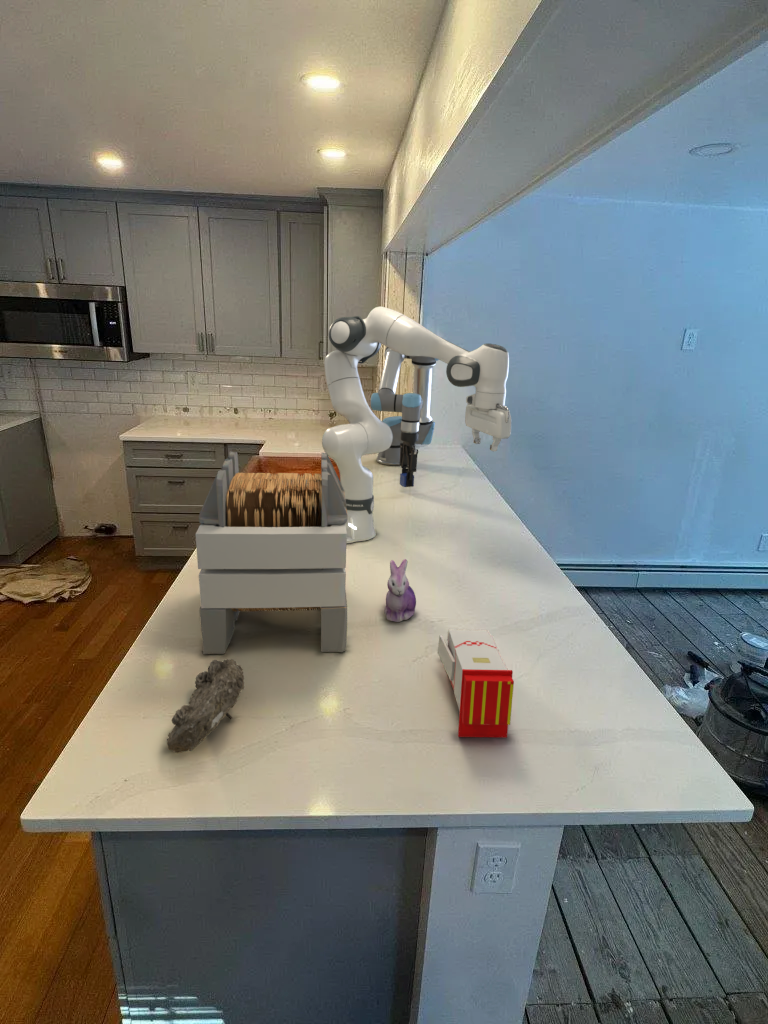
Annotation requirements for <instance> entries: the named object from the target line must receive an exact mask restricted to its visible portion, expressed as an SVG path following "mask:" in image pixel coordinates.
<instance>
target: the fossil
mask: <svg viewBox="0 0 768 1024" xmlns="http://www.w3.org/2000/svg"><path fill="white" fill-rule="evenodd" d="M243 670H244V669H243V667H242V665H240V664H237V662H236V661H235V660H234V659H232V658H231V659H227V658H226V659H224V660H223V661H222V660H217V659H212V660H211V661H210V663H209V665H208V666H207V671H201V672H199V673H198V674H197V675H196V676H195V680H194V684H195V685H194V687H195V689H194V690H193V693H192V694H191V697H190V698H189V700H188V704H184V705H182V706H181V707H180V709H177V710H176V711H175V713H174V715H173V716H172V718H171V723H172V724H173V727H172V730H171V731H170V732H168V734H167V738H166V741H167V742H166V745H167V749H168V750H169V751H173V752H174V753H176V754H178V753H182V752H188V751H189V752H192V751H193V750H195V748H196V747H197V746H199V744H200V743H201V742H203V741H204V740H205V739H206V738H207V737H208V736H209V735H210V734H211V733H212V732H214V730H215V729H217V727H218V726H219V724H220V722H221V721H222V720H223V719H224V718H225V716H226V717H227V719H229V720H233V717H232V715H230V714H229V710H230V709H231V708H234V706H235V704H236V703H237V702H238V699H239V697H240V695H241V693H242V691H243V690H245V689H244V688H245V675H244V671H243Z"/></svg>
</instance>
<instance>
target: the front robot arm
mask: <svg viewBox="0 0 768 1024" xmlns="http://www.w3.org/2000/svg"><path fill="white" fill-rule="evenodd" d="M328 340H329V342H330V344H331V345H332V347H334V348H335V350H332V351H330V352H329V353H327V354H326V356H325V357H324V361H323V362H324V363H323V364H324V366H323V367H324V376H325V381H326V382H325V383H326V387H327V390H328V394H329V398H330V402H331V406H332V408H333V410H334V411H335V413H337V415H341V417H344V418H345V419H346V420H347V421H348V423H344V424H343V423H342V424H337V425H335V426H332V427H329V428H327V429H325V431H324V432H323V435H322V437H321V447H322V450H323V452H324V453H327V454H328V457H329V459H332V461H333V462H334V463H335V465H336V466H337V470H338V472H339V480H340V482H341V484H342V487H343V489H344V491H345V499H346V506H347V514H348V519H347V523H345V524H346V532H347V541H346V544H352V543H357V542H365V541H368V540H372V539H373V538H375V537H376V535H377V532H376V528H375V523H374V513H373V512H374V509H375V496H374V474H373V472H372V471H371V469H369V468H368V467H366V466H364V465H363V463H362V457H364V456H370V455H371V456H372V455H378V453H380V452H383V451H385V450H387V449H388V448H389V447H390V446H391V444H392V439H393V435H392V431H391V429H390V427H389V426H388V425H387V424H386V423H384V422H382V421H383V420H381V419H380V418H379V417H377V415H376V414H375V412H373V410H372V408H371V406H369V403H368V401H367V399H366V395H365V393H364V389H363V386H362V381H361V377H360V374H359V370H358V364H362V365H363V364H364V363H366V361H368V360H369V359H371V358H373V357H375V356H376V355H377V354H378V353H379V351H380V349H381V348H382V345H383V346H385V348H386V347H388V348H390V349H391V350H393V351H395V352H398V353H400V354H403V355H407V356H426V357H433V358H436V359H439V360H438V361H441V362H443V363H445V364H446V369H445V373H446V378H447V380H448V382H449V383H450V384H451V385H453V386H455V387H458V388H468V387H474V388H475V393H473V394H470V395H467V396H466V398H465V403H466V406H465V414H464V422H465V426H466V427H468V428H469V429H471V434H472V437H473V440H472V443H473V444H475V445H480V444H481V443H482V442H481V441H482V438H481V437H480V436H481V435H480V432H481V433H483V434H485V435H487V436H488V435H489V436H491V437H492V443H491V444H489V451H491V452H497V451H498V448H499V444H500V443H501V442H502V440H504V439H509V438H510V436H511V434H512V416H511V412H510V410H509V407H508V406H506V396H507V388H506V386H507V385H506V384H507V380H508V378H509V368H510V355H509V354H510V353H509V351H508V349H507V348H506V347H504V346H502V345H500V344H495V343H483V344H482V345H481V346H479V347H477V348H475V349H473V350H467V349H465V348H463V347H461V346H459V345H457V344H455V343H452V342H451V341H449V340H447V339H445V338H443V337H441V336H439V335H437V334H435V333H434V332H432V331H431V330H429V329H428V328H427V327H424V326H423V325H422V324H420V322H418V321H416V320H414V319H412V318H411V317H409V316H407V315H406V314H404V313H402V312H400V311H398V310H395V309H392V308H389V307H386V306H376V307H374V308H372V309H371V311H369V313H368V314H367V317H365V318H362V317H361V316H360V315H355V316H342V317H338V318H337V319H335V320H333V322H332V323H331V324H330V326H329V328H328Z"/></svg>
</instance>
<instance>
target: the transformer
mask: <svg viewBox="0 0 768 1024" xmlns="http://www.w3.org/2000/svg"><path fill="white" fill-rule="evenodd" d="M320 456H321V462H320V463H321V467H320V469H321V470H320V471H321V472H320V473H314V474H313V473H297V472H289V473H288V472H277V473H275V472H274V473H270V472H266V473H265V472H247V473H246V472H240V471H239V469H240V468H239V455H238V451H232V450H231V451H229V453H228V455H227V458H224V461H223V464H222V466H221V468H220V469H219V470H218V471H217V473H216V476H215V477H214V480H213V482H212V484H211V487H210V488H209V490H208V494H207V495H206V498H205V500H204V502H203V505H202V506H201V509H200V512H199V514H198V522H199V524H200V525H199V526H198V529H197V530H196V532H195V546H196V561H197V570H200V571H199V573H198V586H199V599H200V600H199V601H200V607H199V621H200V623H199V624H200V632H201V641H202V651H201V653H202V654H203V655H208V656H210V654H213V655H214V654H216V655H220V654H221V655H222V654H223V655H225V654H226V652H227V649H228V647H229V644H230V642H231V640H232V637H233V636H234V632H235V622H238V618H239V615H240V612H266V611H267V612H278V611H280V612H289V611H295V610H296V611H320V652H321V653H324V652H325V653H326V652H329V653H330V652H332V653H333V652H339V653H344V652H345V651H347V642H348V640H347V639H348V637H347V636H348V600H347V592H346V590H347V589H346V579H347V572H346V571H347V570H346V568H347V543H346V541H347V532H346V524H345V523H347V519H348V514H347V506H346V499H345V491H344V489H343V487H342V484H341V482H340V477H339V476H338V473H337V472H336V470H335V467H334V465H333V462H332V461H331V458H330V457H329V456H328V454H327V453H325V452H321V455H320Z"/></svg>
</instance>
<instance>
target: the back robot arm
mask: <svg viewBox="0 0 768 1024" xmlns="http://www.w3.org/2000/svg"><path fill="white" fill-rule="evenodd" d="M383 357H384V363H383V368H382V372H381V376H380V381H379V385H378V390H377V392H373V393H372V394H371V396H370V409H371V410H372V411H376V412H377V411H378V412H386V413H387V412H390V413H400V414H401V415H395V416H388V417H385V418H382V420H381V421H382V422H384V423H386V424H387V425H388V426H389V427H390V429H391V431H392V435H393V439H392V444H391V446H390V447H389V448H388V449H387V450H385V451H383V452H380V453H377V456H376V463H378V464H380V465H383V466H395V467H396V466H399V467H400V468H401V473H407V478H406V487H405V488H413V487H414V486H413V475H414V473H417V469H418V468H417V467H418V454H419V449H417V448H416V445H420V446H422V445H425V446H427V445H430V444H431V443H432V441H433V440H432V439H433V436H434V432H435V431H434V430H435V427H436V422H435V421H433V417H432V416H431V401H432V400H431V398H432V381H433V380H432V379H433V367H435V366H436V365H437V362H438V361H440V360H439V359H436V358H433V357H426V356H407V355H403V354H400V353H398V352H395V351H393V350H391V349H390V348H388V347H386V346H385V349H384V356H383ZM405 359H407V360H411V364H412V366H413V369H414V371H413V392H407V393H404V394H396V392H397V386H398V381H399V376H400V373H401V367H402V363H403V362H404V361H405ZM412 486H413V487H412Z"/></svg>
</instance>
